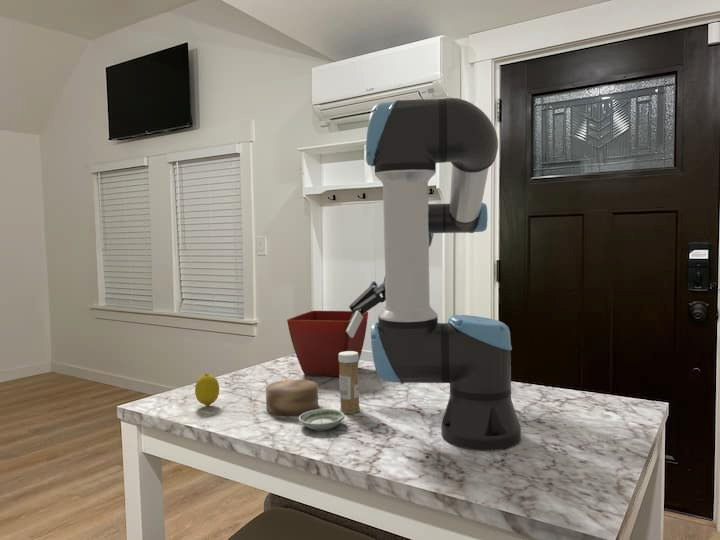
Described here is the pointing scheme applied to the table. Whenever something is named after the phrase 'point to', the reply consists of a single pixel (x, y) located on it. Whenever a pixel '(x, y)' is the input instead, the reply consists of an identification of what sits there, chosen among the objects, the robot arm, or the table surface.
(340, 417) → the saucer
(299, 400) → the walnut pedestal
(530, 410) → the table surface
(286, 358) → the table surface
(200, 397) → the lemon
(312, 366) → the plant pot
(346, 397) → the sprinkles bottle
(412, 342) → the robot arm
